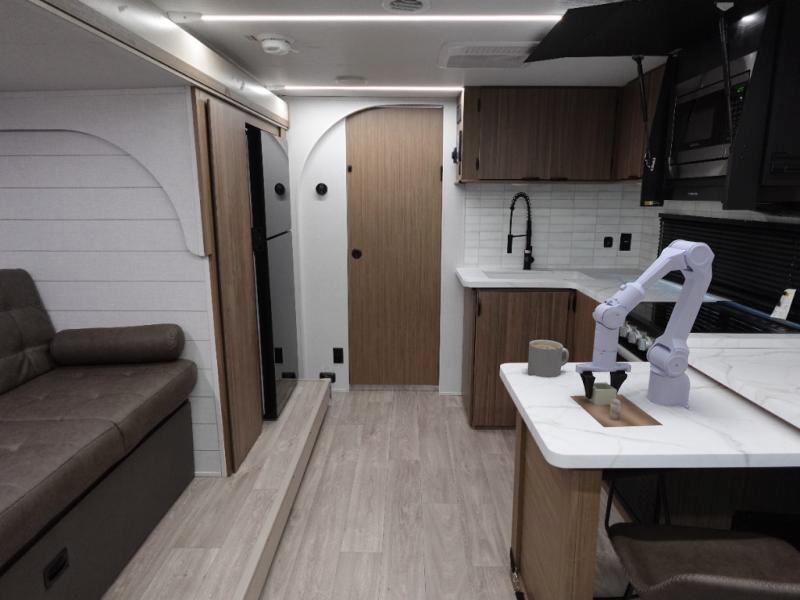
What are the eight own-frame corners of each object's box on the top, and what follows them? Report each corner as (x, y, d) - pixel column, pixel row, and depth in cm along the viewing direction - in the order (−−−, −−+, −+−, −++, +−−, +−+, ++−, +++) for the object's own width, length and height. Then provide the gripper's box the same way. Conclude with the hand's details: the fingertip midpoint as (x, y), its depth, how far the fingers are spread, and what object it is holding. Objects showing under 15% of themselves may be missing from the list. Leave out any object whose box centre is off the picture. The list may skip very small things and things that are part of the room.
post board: (621, 397, 139) (623, 377, 138) (662, 428, 121) (665, 405, 119) (569, 399, 138) (571, 378, 136) (603, 431, 119) (605, 407, 118)
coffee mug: (535, 381, 151) (537, 349, 149) (522, 370, 161) (524, 340, 159) (576, 379, 153) (579, 348, 151) (561, 368, 163) (564, 339, 161)
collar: (604, 396, 138) (606, 382, 137) (615, 404, 132) (616, 390, 132) (585, 396, 137) (586, 382, 136) (595, 404, 132) (596, 390, 131)
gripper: (623, 344, 136) (618, 390, 139) (572, 344, 135) (568, 392, 138) (637, 351, 130) (632, 400, 132) (584, 352, 128) (579, 402, 131)
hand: (600, 397), depth 135 cm, fingers open, 6 cm apart
